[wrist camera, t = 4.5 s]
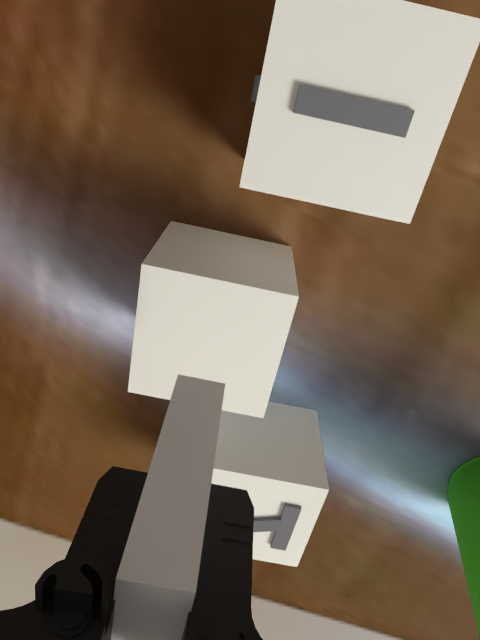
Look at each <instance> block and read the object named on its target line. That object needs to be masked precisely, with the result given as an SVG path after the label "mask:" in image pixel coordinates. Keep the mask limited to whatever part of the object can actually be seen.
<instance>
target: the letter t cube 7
mask: <svg viewBox="0 0 480 640" xmlns="http://www.w3.org/2000/svg"><path fill="white" fill-rule="evenodd" d="M211 484H216V485H221V486H227V487H232V488H238V489H243V490H247V492H248V494H249V497H250V499H251V502H252V504H253V507H254V528H253V546H252V547H253V559H255V560H261V561H266V562H272V563H278V564H283V565H289V566H295V567H297V566H298V564H299V561H300V559H301V556H302V554H303V552H304V549H305V547H306V544H307V542H308V540H309V537H310V535H311V532H312V530H313V527H314V525H315V523H316V520H317V518H318V515H319V513H320V511H321V508H322V506H323V503H324V501H325V498H326V496H327V494H328V491H329V486H328V480H327V473H326V466H325V460H324V453H323V447H322V440H321V434H320V427H319V421H318V414H317V411H316V410H311V409H306V408H300V407H295V406H290V405H285V404H280V403H275V402H269V401H268V404H267V408H266V411H265V415H264V418H259V417H254V416H249V415H244V414H239V413H234V412H228V411H223V410H222V411H221V418H220V425H219V432H218V439H217V446H216V454H215V461H214V468H213V475H212V482H211Z"/></svg>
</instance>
